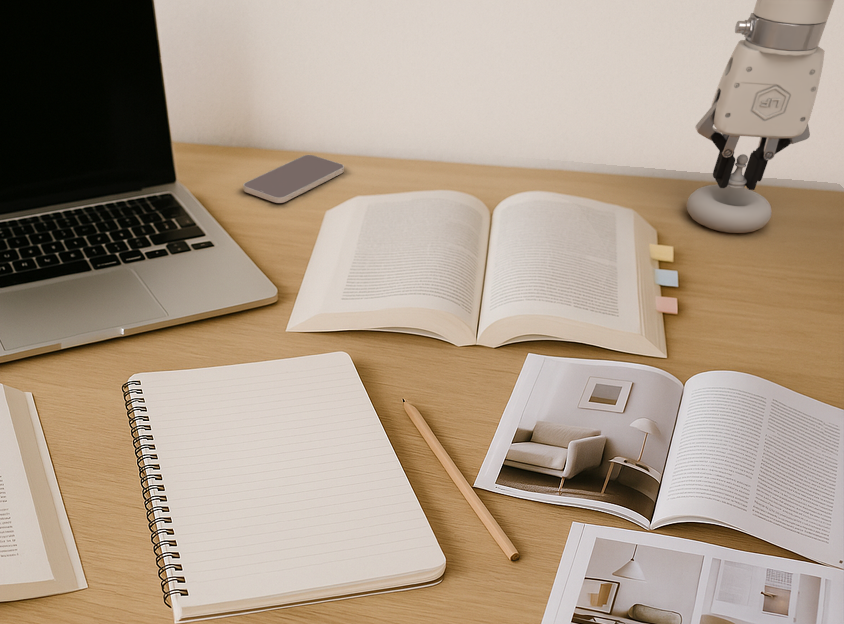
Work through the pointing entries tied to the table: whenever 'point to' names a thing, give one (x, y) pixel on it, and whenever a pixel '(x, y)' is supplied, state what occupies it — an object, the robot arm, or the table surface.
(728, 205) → the donut
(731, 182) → the pawn
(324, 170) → the smartphone
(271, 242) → the table surface
